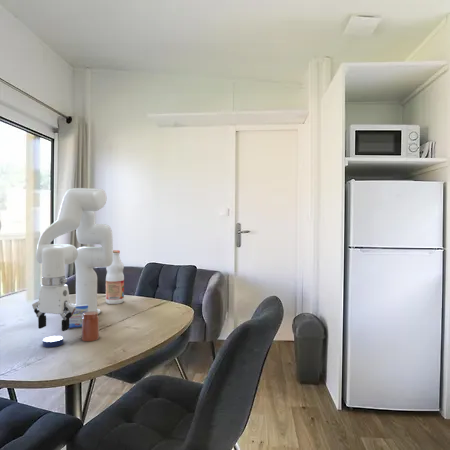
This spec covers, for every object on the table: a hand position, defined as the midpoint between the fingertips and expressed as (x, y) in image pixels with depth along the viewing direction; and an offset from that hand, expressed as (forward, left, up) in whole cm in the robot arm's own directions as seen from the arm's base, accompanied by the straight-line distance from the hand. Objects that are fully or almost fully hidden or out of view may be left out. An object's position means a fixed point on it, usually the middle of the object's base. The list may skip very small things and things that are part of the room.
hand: (53, 328), depth 133 cm
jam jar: (+9, +8, -5) cm, 14 cm away
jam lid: (0, -1, -4) cm, 4 cm away
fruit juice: (-15, +65, -6) cm, 67 cm away
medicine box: (-6, +21, -6) cm, 23 cm away
